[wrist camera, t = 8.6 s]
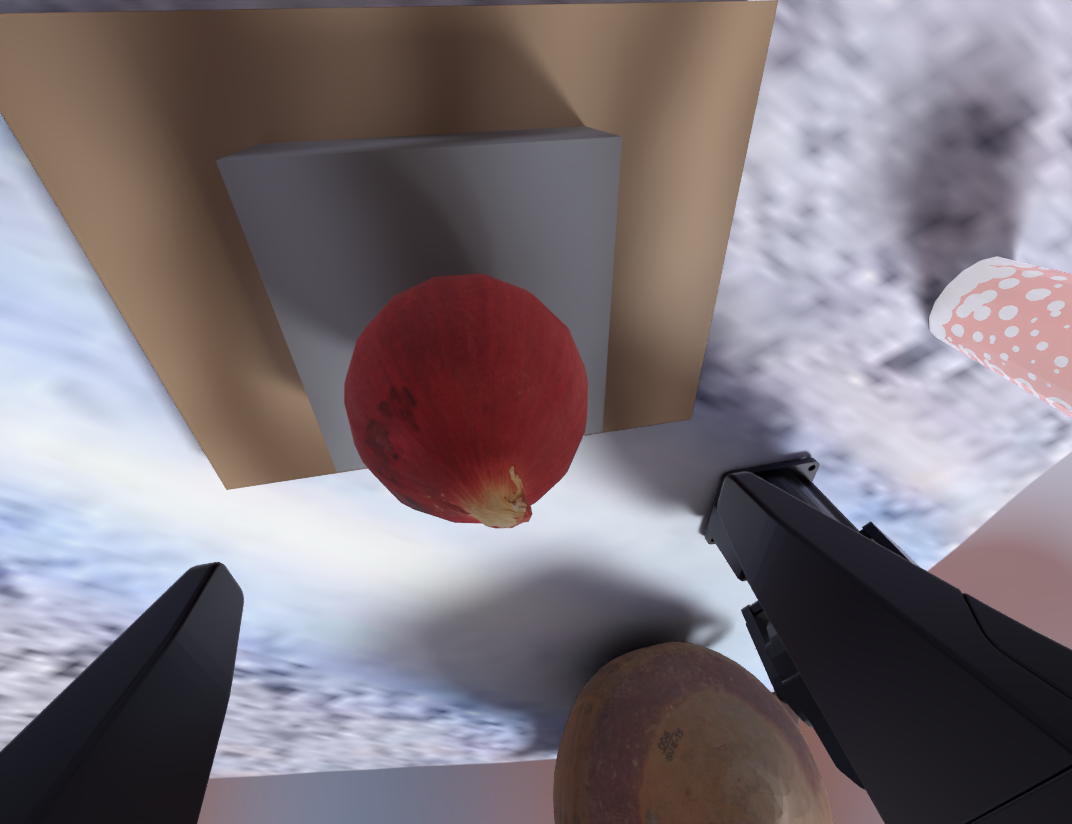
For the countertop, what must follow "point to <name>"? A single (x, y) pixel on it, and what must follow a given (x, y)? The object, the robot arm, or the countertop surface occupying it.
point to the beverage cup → (1012, 324)
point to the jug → (684, 746)
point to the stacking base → (375, 78)
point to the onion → (467, 399)
